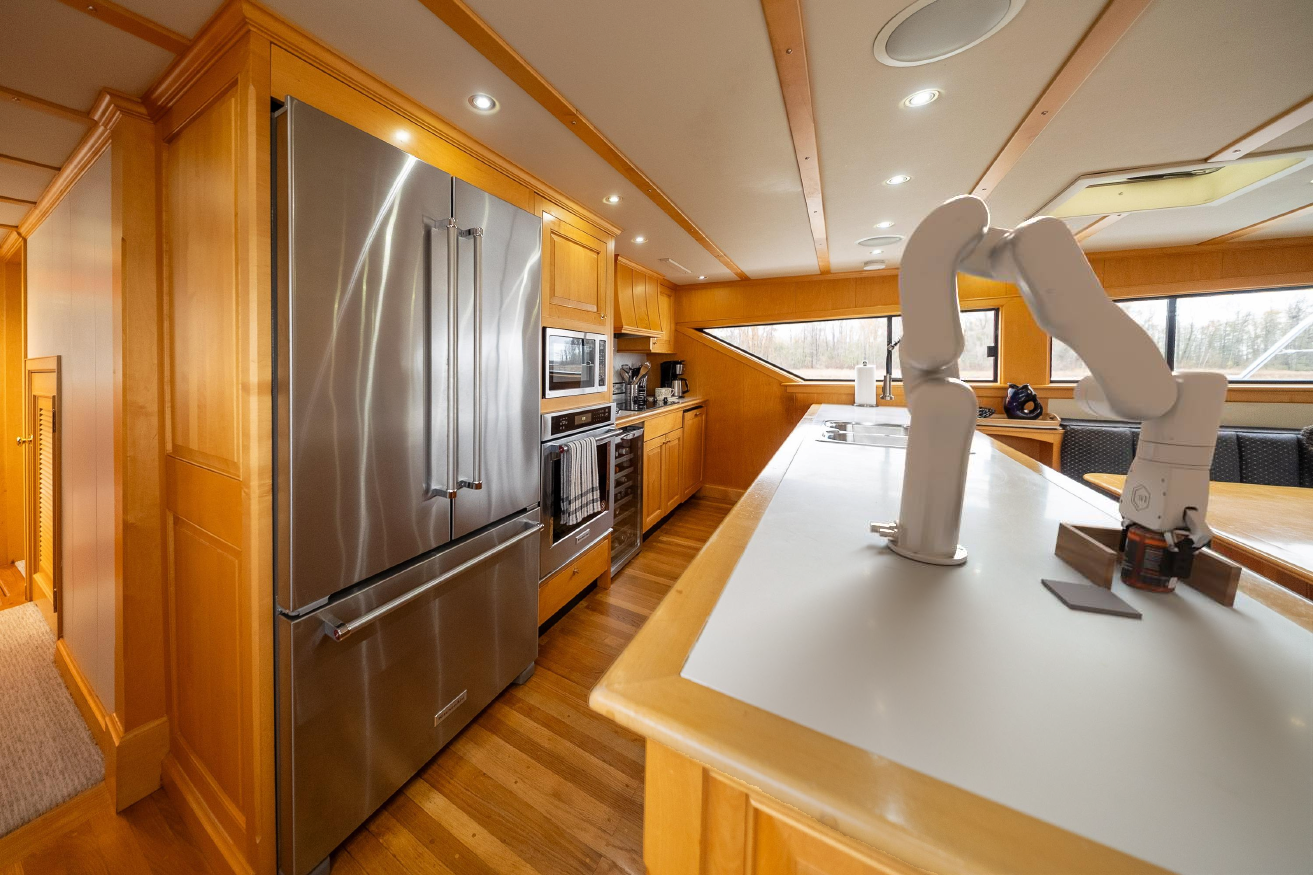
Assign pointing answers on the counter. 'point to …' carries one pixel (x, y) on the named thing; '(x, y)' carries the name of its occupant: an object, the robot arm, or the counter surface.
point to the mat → (1090, 598)
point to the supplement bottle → (1146, 560)
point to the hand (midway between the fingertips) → (1151, 563)
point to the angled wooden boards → (1099, 554)
